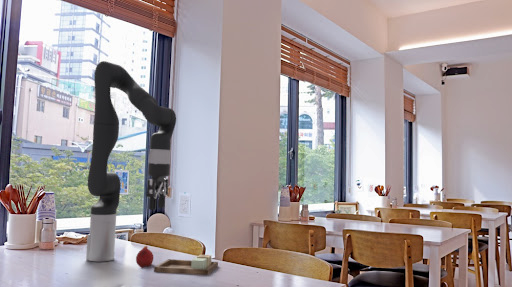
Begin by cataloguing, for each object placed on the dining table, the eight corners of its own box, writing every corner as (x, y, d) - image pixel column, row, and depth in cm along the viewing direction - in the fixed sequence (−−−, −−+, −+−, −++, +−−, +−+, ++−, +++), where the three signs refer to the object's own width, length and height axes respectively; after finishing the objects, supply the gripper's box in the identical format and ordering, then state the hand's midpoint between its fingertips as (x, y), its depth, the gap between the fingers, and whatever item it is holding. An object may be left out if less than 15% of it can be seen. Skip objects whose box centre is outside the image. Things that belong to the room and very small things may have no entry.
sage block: (191, 272, 140) (191, 260, 140) (194, 270, 144) (195, 257, 144) (202, 273, 140) (203, 260, 140) (206, 270, 143) (206, 258, 144)
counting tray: (153, 276, 141) (154, 266, 141) (168, 267, 153) (168, 259, 154) (207, 279, 138) (207, 270, 138) (217, 270, 150) (217, 262, 151)
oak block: (196, 268, 146) (196, 256, 146) (199, 266, 150) (200, 254, 150) (208, 269, 145) (208, 257, 146) (211, 266, 149) (211, 255, 150)
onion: (148, 271, 147) (149, 247, 147) (132, 270, 148) (133, 246, 148) (155, 268, 152) (156, 245, 153) (140, 267, 153) (141, 244, 154)
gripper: (156, 162, 161) (154, 206, 160) (141, 161, 147) (138, 209, 146) (176, 163, 160) (173, 207, 159) (162, 162, 146) (159, 211, 145)
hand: (156, 208), depth 153 cm, fingers open, 8 cm apart
